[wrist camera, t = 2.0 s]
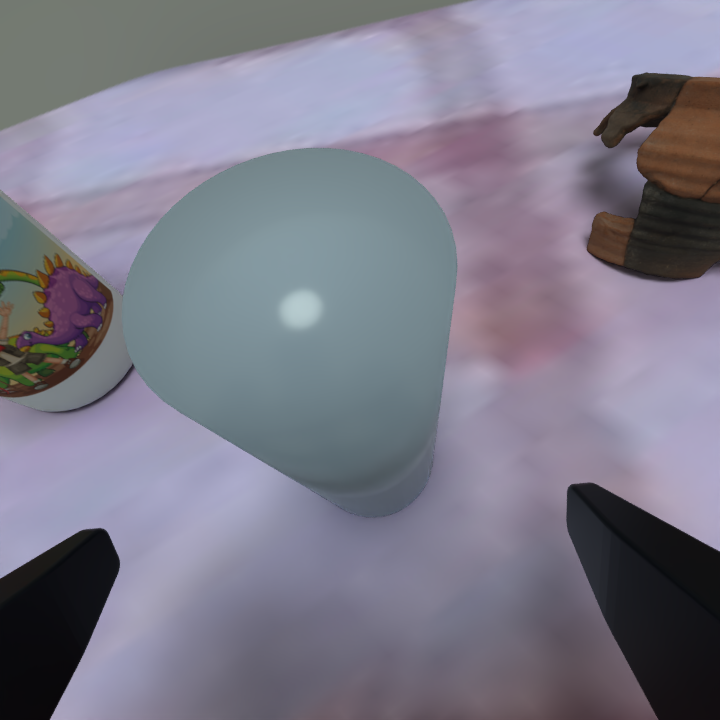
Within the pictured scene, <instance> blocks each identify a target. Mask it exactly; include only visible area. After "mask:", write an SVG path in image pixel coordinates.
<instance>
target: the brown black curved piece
mask: <svg viewBox="0 0 720 720" xmlns="http://www.w3.org/2000/svg"><path fill="white" fill-rule="evenodd" d="M640 126H641V127H657V128H656V129H655V130H654V131H653V132H652V133H651V134H650V135H649V137H648V138H647V139H646V141H645V142H644V143H643V144H642V145H641V147H640V148H639V149H638V152H637V153H638V157H637V168H638V171H639V172H640V173H641V174H642V175H643V177H645V178H646V179H647V180H648V181H647V182H646V183H645V185H644V189H643V195H642V200H641V204H640V207H639V214H638V217H637V218H636V219H634V218H623V217H620V216H616V215H612V214H609V213H607V212H601V213H598V214H597V215H596V216H595V218H594V220H593V223H592V231H591V235H590V238H589V243H588V246H587V250H588V252H589V253H592V254H593V255H595V256H596V257H598V258H601V259H604V260H605V261H607V262H611V263H615V264H617V265H620V266H624V267H626V268H629V269H634V270H638V271H641V272H643V273H645V274H648V275H657V276H661V277H666V278H667V277H669V278H696V277H700V276H702V275H703V274H704V273H705V272H706V271H707V270H708V269H709V268H710V267H711V266H712V265H713V264H714V263H716V262H717V261H719V260H720V78H713V77H691V76H686V75H676V74H658V73H643V74H639V75H634V76H633V77H632V83H631V87H630V90H629V93H628V96H627V98H626V99H625V100H624V101H623V102H622V103H621V104H620V105H619V106H617V107H616V108H614V109H613V110H611V112H610V113H609V114H608V115H607V116H606V117H605V118H604V119H603V120H602V122H601V123H600V125H599V126H598V127H597V128H596V129H595V130H594V132H593V134H594V135H595V136H599V135H600V134H602V135H601V139H602V141H603V143H604V145H605V146H606V147H608V148H613V147H615V146H617V145H618V144H619V143H620V141H621V140H622V139H623V138H624V136H625V135H626V134H627V133H630V132H632V131H633V130H635V129H636V128H638V127H640Z"/></svg>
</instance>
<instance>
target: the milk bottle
mask: <svg viewBox="0 0 720 720" xmlns="http://www.w3.org/2000/svg"><path fill="white" fill-rule="evenodd" d="M122 300H123V296H122V295H121V294H120V293H119V292H118V291H117V290H116V289H115V288H113V287H112V286H111V285H110V284H109V283H108V282H107V281H105V280H104V279H103V278H102V277H101V276H100V275H99V274H97V273H96V272H95V271H94V270H93V269H92V268H91V267H89V266H88V265H87V264H86V263H85V262H84V261H83V260H81V259H80V258H79V257H78V256H77V255H76V254H74V253H73V252H72V251H71V250H70V249H69V248H68V247H66V246H65V245H64V244H63V243H62V242H61V241H60V240H58V239H57V238H56V237H55V236H54V235H53V234H51V233H50V232H49V231H48V230H47V229H46V228H45V227H43V226H42V225H41V224H40V223H39V222H38V221H36V220H35V219H34V218H33V217H32V216H31V215H29V214H28V213H27V212H26V211H25V210H24V209H22V208H21V207H20V206H19V205H18V204H17V203H15V202H14V201H13V200H12V199H11V198H10V197H8V196H7V195H6V194H5V193H4V192H3V191H1V190H0V397H2V398H5V399H8V400H10V401H13V402H16V403H18V404H21V405H24V406H27V407H30V408H33V409H37V410H40V411H46V412H56V411H67V410H71V409H76V408H80V407H82V406H85V405H87V404H90V403H92V402H94V401H95V400H97V399H99V398H100V397H102V396H104V395H105V394H106V393H107V392H109V391H110V390H111V389H112V388H114V387H115V386H116V385H117V384H118V382H119V381H120V380H121V379H122V378H123V377H124V376H125V374H126V373H127V371H128V370H129V369H130V367H131V366H132V364H133V362H132V360H131V358H130V356H129V354H128V350H127V347H126V343H125V340H124V335H123V327H122Z"/></svg>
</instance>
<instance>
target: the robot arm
mask: <svg viewBox="0 0 720 720" xmlns="http://www.w3.org/2000/svg"><path fill="white" fill-rule="evenodd" d="M566 522H567V528H568V532H569V535H570V537H571V540H572V542H573V545H574V547H575V549H576V552H577V554H578V557H579V559H580V561H581V564H582V566H583V569H584V571H585V573H586V576H587V578H588V581H589V583H590V585H591V588H592V590H593V593H594V595H595V598H596V600H597V602H598V605H599V607H600V609H601V612H602V614H603V616H604V618H605V620H606V622H607V624H608V626H609V628H610V630H611V632H612V634H613V636H614V638H615V640H616V642H617V644H618V645H619V647H620V649H621V651H622V653H623V655H624V657H625V658H626V660H627V662H628V664H629V666H630V668H631V670H632V671H633V673H634V675H635V677H636V679H637V681H638V683H639V684H640V686H641V688H642V690H643V692H644V694H645V696H646V698H647V699H648V701H649V703H650V705H651V707H652V709H653V711H654V712H655V714H656V716H657V718H658V720H720V551H718V550H716V549H714V548H712V547H710V546H709V545H707V544H705V543H703V542H701V541H699V540H698V539H696V538H694V537H692V536H690V535H688V534H687V533H685V532H683V531H681V530H679V529H677V528H676V527H674V526H672V525H670V524H668V523H666V522H665V521H663V520H661V519H659V518H657V517H655V516H654V515H652V514H650V513H648V512H646V511H644V510H643V509H641V508H639V507H637V506H635V505H633V504H632V503H630V502H628V501H626V500H624V499H622V498H621V497H619V496H617V495H615V494H613V493H611V492H610V491H608V490H606V489H604V488H602V487H600V486H599V485H597V484H594V483H579V484H571V485H570V486H569V487H568V490H567V516H566ZM119 568H120V560H119V557H118V554H117V552H116V550H115V547H114V545H113V543H112V541H111V538H110V536H109V534H108V532H107V531H106V530H105V529H102V528H96V529H86V530H82V531H79V532H78V533H76V534H74V535H73V536H71V537H69V538H68V539H66V540H64V541H63V542H61V543H59V544H58V545H56V546H54V547H52V548H51V549H49V550H47V551H46V552H44V553H42V554H41V555H39V556H37V557H36V558H34V559H32V560H31V561H29V562H27V563H26V564H24V565H22V566H21V567H19V568H17V569H16V570H14V571H12V572H11V573H9V574H7V575H6V576H4V577H2V578H1V579H0V720H50V718H51V716H52V714H53V713H54V711H55V709H56V707H57V705H58V703H59V701H60V699H61V697H62V695H63V693H64V691H65V689H66V688H67V686H68V684H69V682H70V680H71V678H72V676H73V674H74V672H75V670H76V668H77V666H78V664H79V662H80V660H81V658H82V656H83V654H84V652H85V650H86V648H87V645H88V643H89V641H90V639H91V636H92V634H93V631H94V629H95V627H96V624H97V622H98V620H99V617H100V615H101V612H102V610H103V608H104V605H105V603H106V601H107V598H108V596H109V594H110V591H111V589H112V586H113V584H114V582H115V579H116V577H117V575H118V572H119Z"/></svg>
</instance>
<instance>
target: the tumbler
mask: <svg viewBox="0 0 720 720" xmlns="http://www.w3.org/2000/svg"><path fill="white" fill-rule="evenodd" d="M456 276H457V254H456V245H455V241H454V237H453V233H452V230H451V227H450V225H449V223H448V220H447V218H446V216H445V214H444V212H443V210H442V209H441V207H440V206H439V204H438V203H437V201H436V200H435V198H434V197H433V196H432V195H431V194H430V193H429V192H428V191H427V189H426V188H425V187H424V186H423V185H422V184H420V183H419V182H418V181H417V180H416V179H414V178H413V177H412V176H411V175H409V174H408V173H406V172H404V171H403V170H401V169H400V168H398V167H396V166H394V165H392V164H390V163H388V162H386V161H383V160H381V159H379V158H376V157H373V156H369V155H366V154H363V153H358V152H353V151H348V150H341V149H331V148H306V149H295V150H288V151H282V152H277V153H272V154H268V155H265V156H261V157H257V158H254V159H251V160H249V161H246V162H243V163H241V164H238V165H236V166H233V167H231V168H229V169H227V170H225V171H223V172H221V173H219V174H217V175H215V176H214V177H212V178H210V179H209V180H207V181H205V182H203V183H202V184H201V185H199V186H198V187H196V188H195V189H194V190H192V191H191V192H189V193H188V194H187V195H186V196H184V197H183V198H182V199H181V200H180V201H179V202H177V203H176V204H175V205H174V206H173V207H172V208H171V209H170V210H169V211H168V212H167V213H166V214H165V215H164V216H163V217H162V218H161V219H160V221H159V222H158V223H157V224H156V226H155V227H154V228H153V229H152V231H151V232H150V233H149V235H148V236H147V238H146V240H145V241H144V243H143V244H142V246H141V248H140V249H139V251H138V253H137V255H136V257H135V259H134V262H133V264H132V266H131V269H130V272H129V275H128V278H127V281H126V284H125V289H124V295H123V300H122V327H123V335H124V340H125V343H126V347H127V350H128V354H129V356H130V358H131V360H132V362H133V364H134V366H135V368H136V370H137V372H138V373H139V375H140V376H141V377H142V379H143V380H144V382H145V383H146V384H147V386H148V387H149V388H150V389H151V390H152V391H153V392H154V393H155V394H156V395H157V396H158V397H160V398H161V399H162V400H163V401H164V402H165V403H167V404H168V405H170V406H171V407H173V408H174V409H176V410H177V411H179V412H180V413H182V414H184V415H185V416H187V417H189V418H190V419H192V420H194V421H195V422H197V423H199V424H200V425H202V426H204V427H205V428H207V429H209V430H210V431H212V432H214V433H215V434H217V435H219V436H221V437H222V438H224V439H226V440H227V441H229V442H231V443H232V444H234V445H236V446H237V447H239V448H241V449H242V450H244V451H246V452H247V453H249V454H251V455H252V456H254V457H256V458H257V459H259V460H261V461H263V462H264V463H266V464H268V465H269V466H271V467H273V468H274V469H276V470H278V471H279V472H281V473H283V474H284V475H286V476H288V477H289V478H291V479H293V480H294V481H296V482H298V483H299V484H301V485H303V486H305V487H306V488H308V489H310V490H311V491H313V492H315V493H316V494H318V495H320V496H321V497H323V498H325V499H326V500H328V501H330V502H331V503H333V504H335V505H336V506H338V507H340V508H341V509H343V510H345V511H347V512H349V513H352V514H355V515H358V516H364V517H382V516H386V515H390V514H393V513H396V512H398V511H400V510H402V509H403V508H405V507H407V506H408V505H409V504H410V503H412V502H413V501H414V500H415V499H416V498H417V497H418V496H419V494H420V493H421V492H422V490H423V489H424V487H425V485H426V483H427V482H428V479H429V476H430V474H431V469H432V464H433V456H434V449H435V441H436V433H437V426H438V418H439V410H440V403H441V395H442V387H443V379H444V372H445V364H446V356H447V349H448V341H449V333H450V326H451V318H452V310H453V303H454V295H455V287H456Z"/></svg>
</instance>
